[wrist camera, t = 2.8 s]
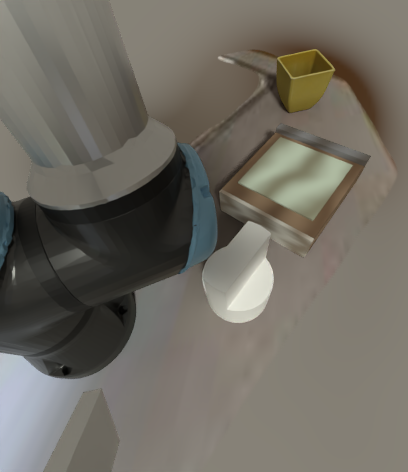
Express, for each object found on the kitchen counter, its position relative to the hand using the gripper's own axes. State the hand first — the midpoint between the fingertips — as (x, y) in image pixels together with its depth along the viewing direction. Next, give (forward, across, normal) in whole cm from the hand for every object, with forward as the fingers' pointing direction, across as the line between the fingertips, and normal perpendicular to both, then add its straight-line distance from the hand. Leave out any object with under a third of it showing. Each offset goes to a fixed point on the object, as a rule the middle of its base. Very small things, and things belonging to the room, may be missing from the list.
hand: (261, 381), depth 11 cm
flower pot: (+54, +26, +20) cm, 63 cm away
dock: (+36, +15, +3) cm, 39 cm away
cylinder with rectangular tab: (+26, +2, -8) cm, 27 cm away
